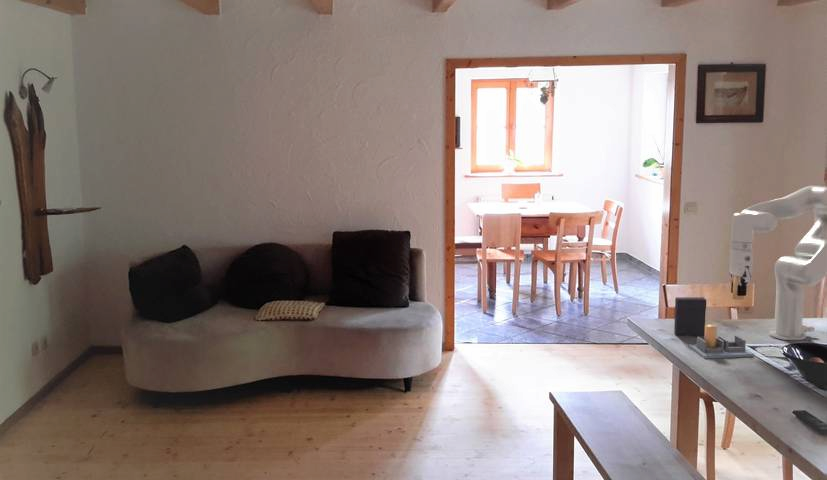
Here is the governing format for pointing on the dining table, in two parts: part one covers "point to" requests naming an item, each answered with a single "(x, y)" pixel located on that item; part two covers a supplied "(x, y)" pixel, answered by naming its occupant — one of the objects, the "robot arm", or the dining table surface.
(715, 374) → the dining table surface
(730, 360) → the dining table surface
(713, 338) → the housing
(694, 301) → the dark grey slab
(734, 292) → the tan capsule rod
